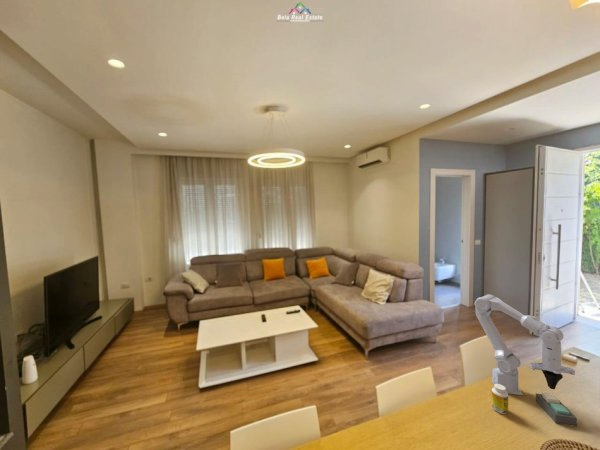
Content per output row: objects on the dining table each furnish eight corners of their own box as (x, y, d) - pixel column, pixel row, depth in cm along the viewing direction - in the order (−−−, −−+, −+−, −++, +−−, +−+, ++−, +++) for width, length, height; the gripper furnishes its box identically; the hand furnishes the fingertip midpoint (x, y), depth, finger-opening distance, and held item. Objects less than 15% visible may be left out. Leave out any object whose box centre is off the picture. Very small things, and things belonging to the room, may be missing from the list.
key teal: (557, 415, 101) (557, 410, 101) (550, 407, 105) (550, 403, 105) (569, 417, 100) (569, 412, 100) (562, 409, 104) (562, 404, 104)
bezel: (555, 420, 100) (555, 414, 100) (535, 398, 112) (535, 393, 112) (576, 424, 98) (577, 418, 98) (554, 401, 110) (554, 396, 110)
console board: (555, 423, 100) (555, 420, 100) (535, 400, 112) (535, 398, 112) (576, 426, 98) (576, 424, 98) (554, 403, 110) (554, 401, 110)
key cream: (548, 403, 107) (548, 398, 106) (541, 396, 110) (541, 392, 110) (559, 404, 105) (559, 400, 105) (553, 398, 109) (553, 393, 109)
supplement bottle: (505, 417, 104) (505, 392, 104) (489, 408, 109) (489, 385, 108) (510, 410, 107) (510, 387, 107) (494, 403, 112) (494, 380, 111)
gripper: (536, 359, 105) (536, 391, 105) (580, 364, 101) (580, 397, 101) (526, 350, 112) (526, 380, 112) (567, 354, 107) (567, 385, 108)
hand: (551, 387), depth 107 cm, fingers closed
